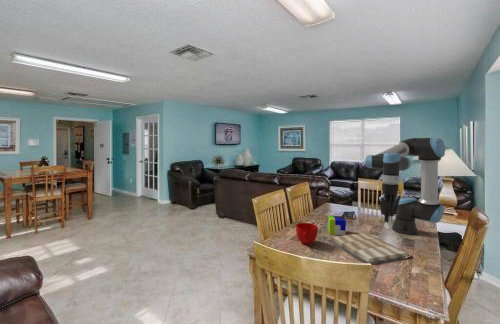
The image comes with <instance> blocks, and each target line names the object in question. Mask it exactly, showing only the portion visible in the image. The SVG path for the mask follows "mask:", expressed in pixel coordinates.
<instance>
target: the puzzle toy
mask: <svg viewBox="0 0 500 324" xmlns="http://www.w3.org/2000/svg"><path fill="white" fill-rule="evenodd" d="M327 220H328V221H327V232H328V234H329V235H330V236H331V235H332V236H344V235H346V231H347V230H346V228H347V227H346V225H347V220H346V219H345V216H344V215H343V216H341V215H340V216H339V215H328V216H327Z"/></svg>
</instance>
